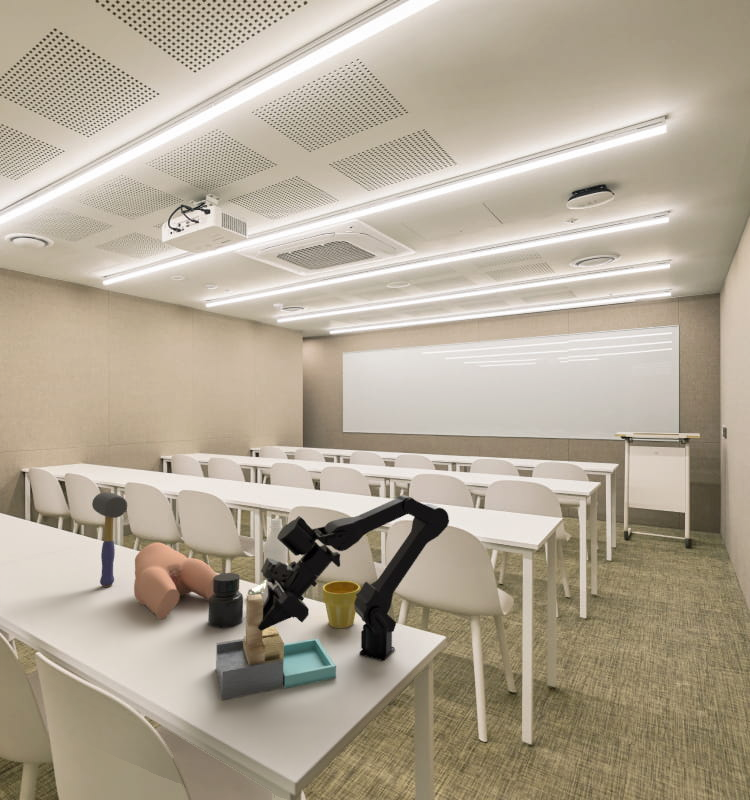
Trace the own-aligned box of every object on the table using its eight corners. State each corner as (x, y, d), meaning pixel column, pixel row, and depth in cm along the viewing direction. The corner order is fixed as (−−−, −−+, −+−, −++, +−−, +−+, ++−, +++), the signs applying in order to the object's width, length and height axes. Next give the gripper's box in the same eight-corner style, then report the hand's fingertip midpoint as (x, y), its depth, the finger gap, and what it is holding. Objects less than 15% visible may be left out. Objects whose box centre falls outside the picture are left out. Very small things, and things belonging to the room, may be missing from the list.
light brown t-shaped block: (256, 645, 109) (258, 589, 109) (264, 665, 100) (265, 604, 101) (243, 647, 108) (244, 590, 108) (249, 668, 99) (251, 606, 99)
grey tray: (270, 658, 112) (271, 634, 112) (282, 687, 100) (283, 660, 100) (215, 668, 107) (216, 643, 107) (222, 700, 95) (222, 671, 95)
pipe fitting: (247, 603, 145) (270, 600, 147) (246, 590, 146) (269, 587, 147) (248, 594, 153) (270, 591, 155) (248, 581, 153) (270, 579, 155)
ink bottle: (250, 617, 134) (250, 573, 135) (232, 630, 126) (233, 583, 126) (219, 613, 137) (220, 570, 137) (200, 625, 128) (201, 580, 129)
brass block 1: (274, 644, 110) (275, 626, 110) (278, 652, 106) (279, 633, 107) (257, 647, 109) (257, 629, 109) (260, 655, 105) (260, 636, 105)
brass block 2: (279, 654, 106) (279, 635, 106) (283, 662, 102) (284, 643, 102) (261, 657, 104) (261, 638, 104) (264, 666, 100) (264, 646, 100)
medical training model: (151, 635, 131) (160, 592, 129) (113, 587, 147) (120, 548, 145) (218, 611, 148) (227, 573, 146) (178, 570, 163) (185, 535, 161)
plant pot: (313, 622, 131) (314, 586, 132) (342, 612, 139) (343, 577, 139) (338, 635, 124) (339, 596, 124) (367, 623, 131) (368, 587, 131)
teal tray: (317, 648, 116) (317, 638, 117) (335, 677, 104) (336, 666, 104) (271, 657, 112) (271, 646, 112) (284, 688, 99) (285, 676, 99)
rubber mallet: (126, 587, 156) (129, 494, 157) (101, 594, 150) (104, 496, 151) (112, 578, 164) (114, 489, 165) (87, 584, 158) (90, 492, 159)
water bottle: (288, 599, 148) (290, 517, 148) (285, 609, 140) (286, 522, 141) (265, 599, 147) (266, 516, 148) (260, 609, 140) (262, 521, 141)
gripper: (275, 535, 116) (226, 588, 111) (294, 556, 99) (237, 620, 94) (307, 565, 118) (260, 618, 114) (330, 590, 101) (276, 654, 97)
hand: (258, 626), depth 104 cm, fingers closed on light brown t-shaped block, 3 cm apart
